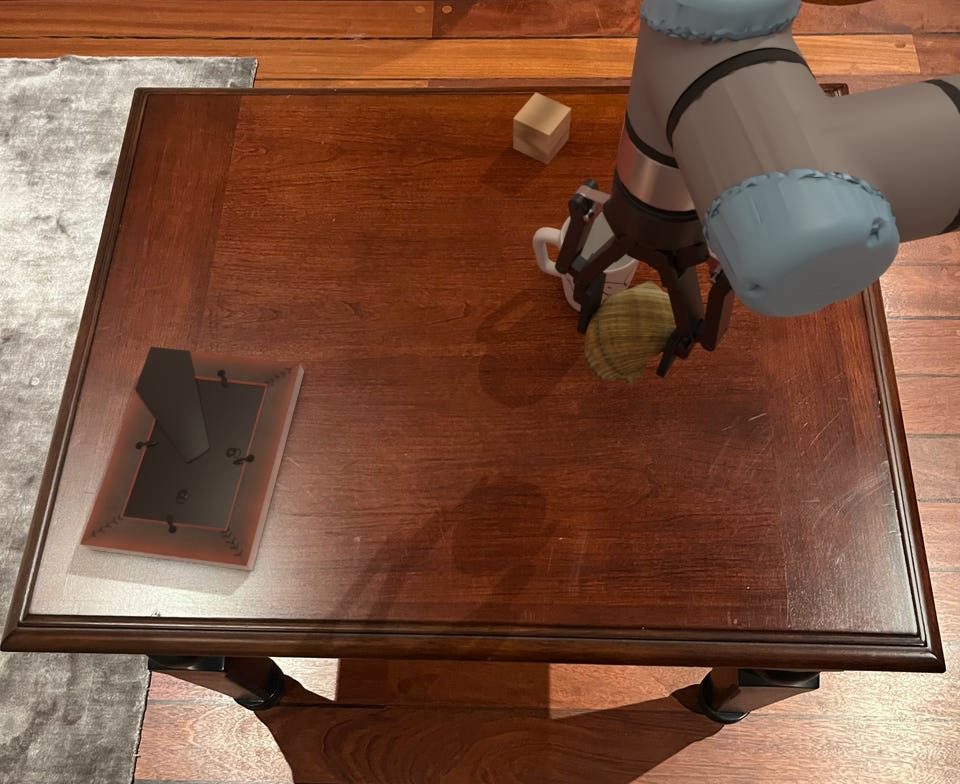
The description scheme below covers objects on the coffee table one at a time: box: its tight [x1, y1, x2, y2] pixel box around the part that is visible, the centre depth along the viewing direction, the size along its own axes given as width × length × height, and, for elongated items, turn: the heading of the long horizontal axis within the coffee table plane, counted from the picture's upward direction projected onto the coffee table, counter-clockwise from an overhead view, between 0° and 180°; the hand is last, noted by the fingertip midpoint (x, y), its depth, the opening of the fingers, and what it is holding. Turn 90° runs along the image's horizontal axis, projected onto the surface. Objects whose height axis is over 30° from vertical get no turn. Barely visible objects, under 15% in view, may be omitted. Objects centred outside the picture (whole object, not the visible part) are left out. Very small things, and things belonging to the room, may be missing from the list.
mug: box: [532, 212, 640, 313], centre depth 85 cm, size 11×8×10 cm
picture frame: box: [79, 346, 305, 572], centre depth 81 cm, size 16×2×22 cm
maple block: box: [512, 92, 572, 166], centre depth 97 cm, size 5×5×5 cm
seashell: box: [583, 279, 676, 387], centre depth 71 cm, size 10×7×8 cm
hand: (626, 343), depth 72 cm, fingers closed on seashell, 7 cm apart
